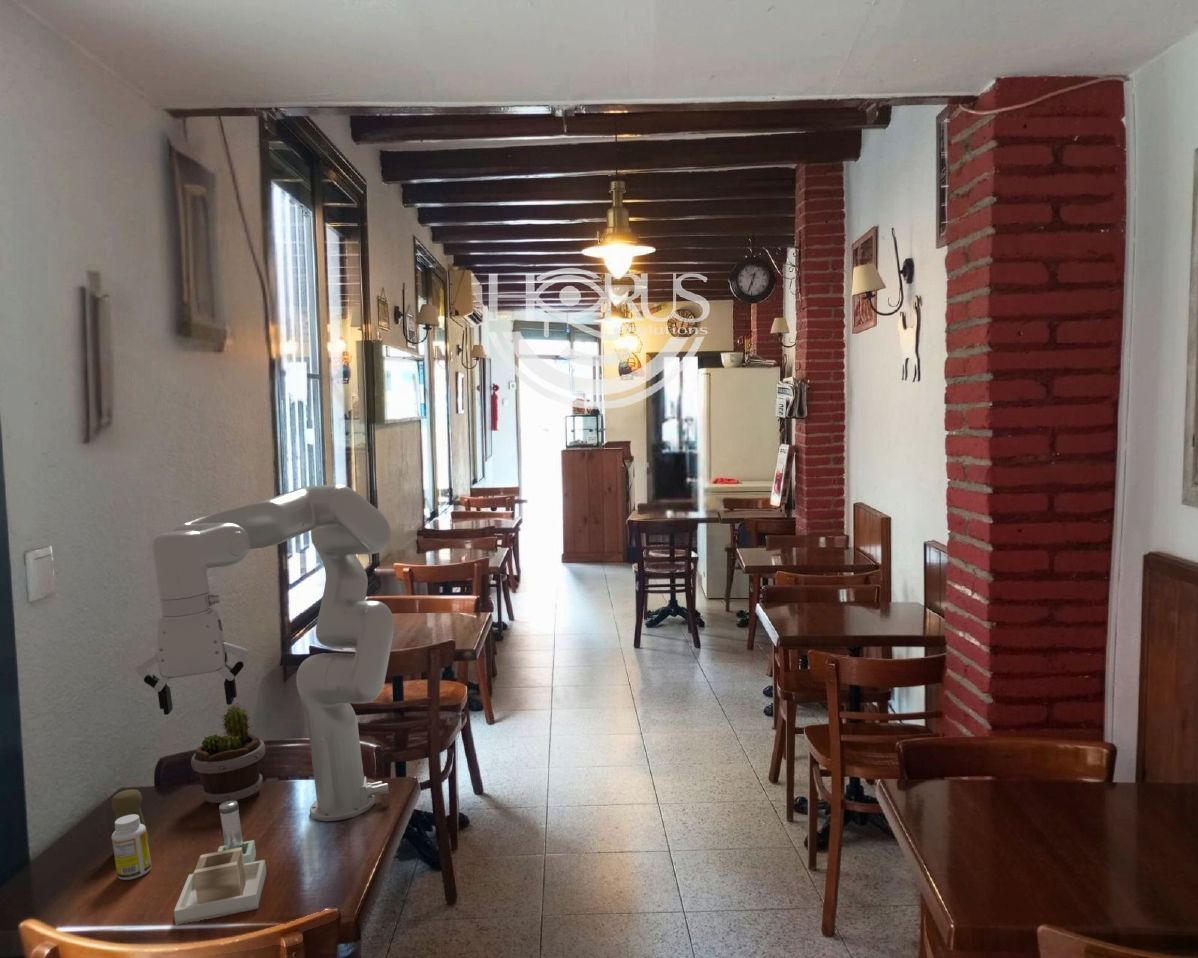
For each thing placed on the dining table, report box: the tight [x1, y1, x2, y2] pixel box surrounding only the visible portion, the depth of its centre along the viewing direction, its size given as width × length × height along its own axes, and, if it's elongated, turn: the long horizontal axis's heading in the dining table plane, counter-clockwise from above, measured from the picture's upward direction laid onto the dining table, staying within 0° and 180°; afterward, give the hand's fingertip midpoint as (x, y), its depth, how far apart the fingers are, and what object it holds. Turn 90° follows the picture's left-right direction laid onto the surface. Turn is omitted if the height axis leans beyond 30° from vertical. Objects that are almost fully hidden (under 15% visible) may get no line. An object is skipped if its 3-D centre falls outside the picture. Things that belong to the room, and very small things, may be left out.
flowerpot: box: [190, 702, 266, 807], centre depth 197 cm, size 14×15×20 cm
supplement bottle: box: [111, 814, 152, 881], centre depth 167 cm, size 6×6×10 cm
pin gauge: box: [218, 801, 244, 854], centre depth 166 cm, size 3×3×11 cm
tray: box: [173, 859, 267, 925], centre depth 155 cm, size 12×12×2 cm
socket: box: [217, 839, 257, 864], centre depth 166 cm, size 6×6×3 cm
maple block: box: [193, 847, 246, 904], centre depth 155 cm, size 7×7×6 cm
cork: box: [110, 788, 152, 847], centre depth 178 cm, size 6×6×11 cm
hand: (199, 707), depth 154 cm, fingers open, 9 cm apart
